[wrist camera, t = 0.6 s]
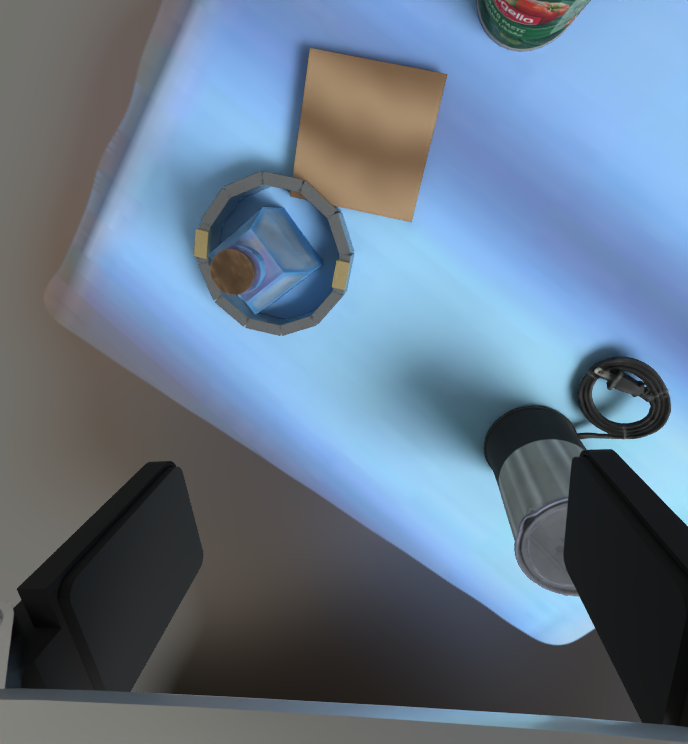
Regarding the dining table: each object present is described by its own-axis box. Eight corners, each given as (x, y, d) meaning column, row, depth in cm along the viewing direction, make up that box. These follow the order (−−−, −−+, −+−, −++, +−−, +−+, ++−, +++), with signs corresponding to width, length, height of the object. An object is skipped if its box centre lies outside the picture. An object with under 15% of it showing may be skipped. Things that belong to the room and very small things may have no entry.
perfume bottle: (236, 249, 41) (172, 262, 30) (284, 208, 39) (234, 205, 28) (276, 300, 42) (228, 332, 31) (324, 263, 40) (292, 282, 29)
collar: (215, 162, 38) (199, 157, 35) (367, 194, 37) (363, 192, 34) (204, 310, 43) (190, 316, 40) (337, 341, 42) (332, 350, 40)
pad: (313, 53, 34) (310, 48, 33) (446, 78, 33) (447, 74, 32) (293, 196, 38) (289, 196, 37) (411, 221, 38) (411, 222, 36)
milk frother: (472, 472, 46) (500, 583, 32) (512, 335, 40) (568, 398, 26) (607, 498, 44) (696, 625, 31) (668, 360, 39) (812, 440, 25)
